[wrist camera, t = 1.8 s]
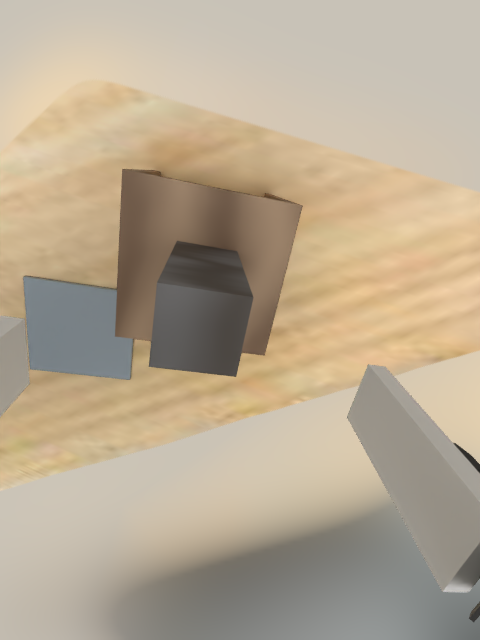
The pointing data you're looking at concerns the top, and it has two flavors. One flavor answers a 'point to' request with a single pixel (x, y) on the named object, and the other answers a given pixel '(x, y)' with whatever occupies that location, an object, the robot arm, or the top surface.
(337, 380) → the top surface
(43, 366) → the mat
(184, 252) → the brown legged piece
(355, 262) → the top surface
